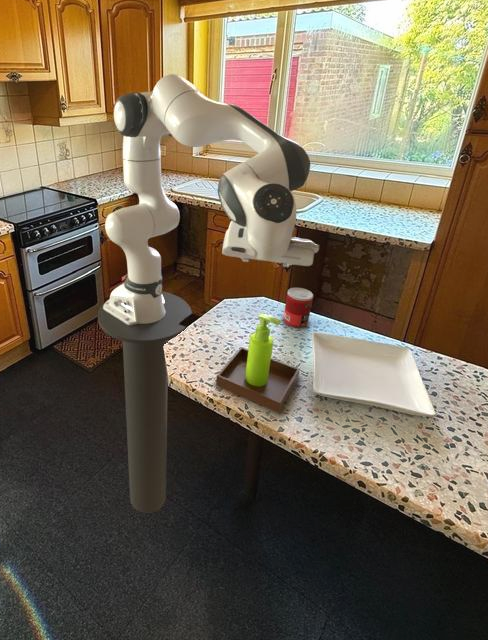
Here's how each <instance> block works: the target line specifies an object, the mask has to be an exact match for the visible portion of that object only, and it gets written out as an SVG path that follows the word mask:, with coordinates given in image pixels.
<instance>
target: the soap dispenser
mask: <svg viewBox="0 0 488 640" xmlns="http://www.w3.org/2000/svg"><path fill="white" fill-rule="evenodd" d="M257 319H259V320H260V323H259V324H257V325H256V328H255V332H254V333H252V334H251V335H250V336H249V342H248V343H249V344H248V358H247V366H246V374H245V379H246V381H247V382H248V383H249V384H251V385H253V386H263V385H265V384H266V383H267V380H268V374H269V368H270V361H271V358H272V354H273V348H274V341H275V340H274V338H273V336H272V335H270V333H271V326H269V324H268V323H272V324H273V325H275V326H279V325H280V324H281V323H282V320H281V319H279V318H276V317H275V316H272V315H270V314H266V313H261V312H260V314H259V315H258V316H257Z"/></svg>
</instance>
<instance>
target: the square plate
mask: <svg viewBox="0 0 488 640" xmlns="http://www.w3.org/2000/svg"><path fill="white" fill-rule="evenodd" d="M310 334H311V335H310V337H311V339H310V340H311V350H312V351H311V352H312V392H313V393H314V394H316V395H319V396H321V397H325V398H329V399H333V400H339V401H344V402H350V403H355V404H361V405H366V406H372V407H377V408H381V409H385V410H390V411H393V412H398V413H402V414H403V413H404V414H407V415H412V416H417V417H425V418H434V417H436V416H437V413H436V410H435V407H434V404H433V402H432V400H431V397H430V395H429V393H428V390H427V387H426V385H425V382H424V380H423V378H422V374H421V373H420V370H419V367H418V364H417V362H416V359H415V357H414V354H413V351H412V350H411V349H410V348H409V347H405V346H399V345H395V344H389V343H385V342H379V341H375V340H373V341H372V340H367V339H362V338H356V337H350V336H349V337H348V336H344V335H343V336H342V335H337V334H336V335H335V334H330V333H322V332H315V331H313V332H311V333H310Z"/></svg>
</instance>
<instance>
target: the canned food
mask: <svg viewBox="0 0 488 640" xmlns="http://www.w3.org/2000/svg"><path fill="white" fill-rule="evenodd" d="M313 300H314V294H313V293H312V291H310V290H308V289H307V288H303V287H290V288H289V289H288V290H287V293H286V300H285V305H284V311H283V321H284V323H285V324H286V325H287V326H289V327H292V328H299V329H300V328H304V327H306V326H307V325H308V323H309V319H310V315H311V309H312V304H313Z"/></svg>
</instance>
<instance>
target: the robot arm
mask: <svg viewBox="0 0 488 640" xmlns="http://www.w3.org/2000/svg"><path fill="white" fill-rule="evenodd" d="M112 113H113V121H114V126H115V128H116V130H117V131H118V133H119V134H120V135H122V136H123V138H122V168H123V170H122V171H123V182H124V185H125V187H126V188H127V189H128V190H129V191H130V192H132V193H134V194H136V195H137V196H138V200H139V202H138V204H135V205H130V206H125V207H121V208H119V209H117V210H114V211H113V212H111V213H109V214H108V215H107V217H106V219H105V222H104V223H105V224H104V228H105V233H106V235H107V237H108V239H109V240H110V241H111V242H112V243H114V244H115V245H117V246H118V247H120V248H121V249H122V250H123V252H124V254H125V258H126V266H127V267H126V268H127V273H126V274H125V275H124V276H122V277H121V281H122V282H121V284H120V285H119V286H116V287H115V288H114V289H113V290H112V291H111V293H110V295H109V299H107V300H108V301H107V300H106V301H107V302H106V301H105V302H106V303H105V302H104V303H105V304H104V303H103V304H104V306H103V309H104V310H105V311H107V312H108V313H110V314H111V315H113V316H115V317H116V318H118V319H119V320H121V321H123V322H124V323H126V324H127V325H135V324H148V323H154V322H157V321H159V320H161V319H162V318H163V317H164V316H165V313H166V311H165V308H164V304H163V303H164V299H163V296H162V291H163V275H162V256H161V254H160V252H159V251H158V250H157V249H156V248H153V247H151V246H149V239H151V238H154V237H158V236H162V235H165V234H168V233H169V232H171V231H173V230H174V229H176V228H177V227H178V226H179V223H180V219H181V215H180V210H179V208H178V206H177V205H176V204H175V202H173V201H172V200H171V199H170V198H169V197H168V196H167V194H166V192H165V189H164V186H163V182H162V180H163V179H162V158H161V157H162V156H161V155H162V154H161V153H162V152H161V140H162V138H163V137H164V136H166V135H168V136H169V137H170V138H171V137H173V138H174V139H175V140H176V141H177V142H178V143H179V144H181V145H183V146H186V147H189V148H199V147H201V148H202V147H204V146H208V145H212V144H215V143H220V142H225V141H233V140H234V141H235V140H236V141H241V142H242V143H245V145H247V146H248V147H250V148H251V149H252V150H254V151H255V152H256V153H257V154H255V155H254V156H252V157H250V158H249V159H246V160H245V161H243V162H240V163H239V164H237V165H236V166H234V167H232V168H231V169H229V170H227V171H225V172H223V174H221V175H220V176H219V180H218V184H217V194H218V195H217V196H218V199H219V203H220V205H221V208H222V209H223V211H224V212H225V214H226V216H227V217H228V219H230V220H231V221H230V222H229V226H228V229H226V231H225V234H224V238H223V242H222V250H221V254H222V255H224V256H226V257H234V258H240V259H241V260H242V262H245V263H249V261H250V260H256V261H264V262H271V263H279V264H282V267H283V268H290V266H293V265H295V266H301V267H302V266H303V267H310V266H312V265H313V264H314V257H315V254H317V253H319V250H320V244H316V243H315V242H314V241H312V240H311V239H308V238H300V237H293V231H294V230H295V226H296V221H297V203H296V199H295V196H294V194H293V193H292V192H293V191H295V190H298V189H299V188H302V187H303V186H304V185H305V184H306V182H307V179H308V178H309V174H310V170H311V160H310V157H309V154H308V153H307V151H306V150H305V149H304V148H303V147H302V146H301V144H299V143H297V142H296V141H294V140H291V139H290V138H287V137H285V136H282V135H280V134H279V133H277V132H276V131H275V130H273V129H272V128H270V127H269V126H268V125H266V124H265V123H263V122H262V121H260V120H259V119H258V118H257V117H255V116H253V115H252V114H250V113H249V112H248V111H246V110H245V109H243V108H242V107H240V106H238V105H236V104H234V103H226V102H225V103H224V102H219V101H215V100H214V99H211V98H208V97H207V96H206V95H204V93H203V92H202V91H201V90H199V89H198V87H197V86H195V84H193V83H192V82H190V81H189V80H188V79H186V78H185V77H183V76H181V75H179V74H175V73H174V74H173V73H172V74H171V73H170V74H167V75H164V76H163V77H161V78H159V80H158V81H157V82H156V84H155V85H154V87H153V90H152V91H141V92H129V93H125V94H122V95H120V96H118V98H117V99H116V101H115V103H114V105H113V112H112Z"/></svg>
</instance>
